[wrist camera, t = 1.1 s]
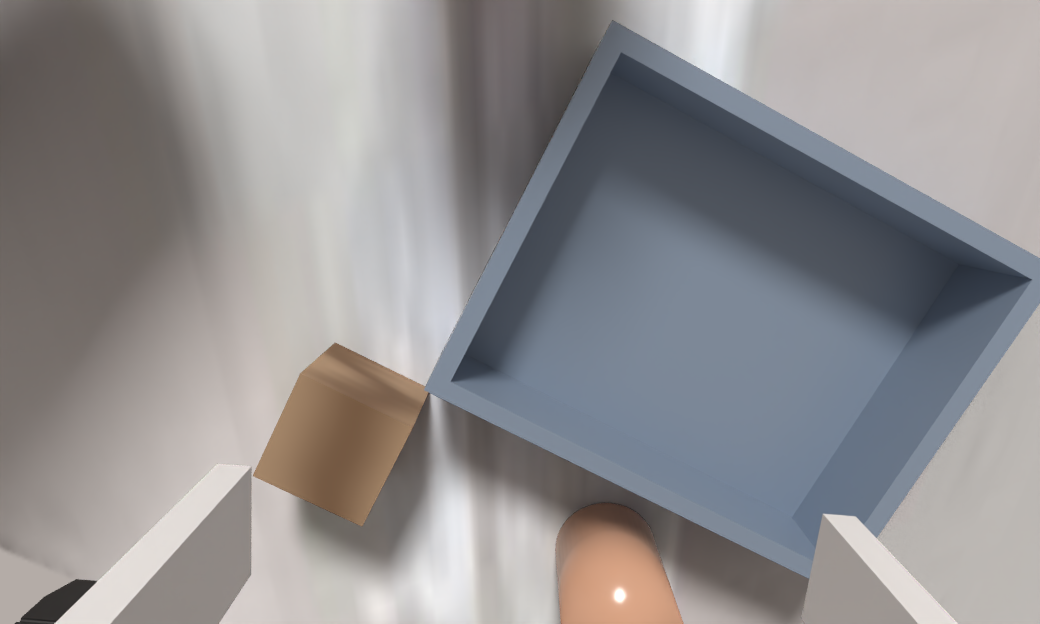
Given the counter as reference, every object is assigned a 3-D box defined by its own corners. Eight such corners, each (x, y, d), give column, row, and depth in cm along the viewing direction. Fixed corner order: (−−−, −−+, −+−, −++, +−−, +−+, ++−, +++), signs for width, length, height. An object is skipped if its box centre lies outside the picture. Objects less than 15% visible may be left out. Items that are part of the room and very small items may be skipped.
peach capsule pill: (538, 567, 34) (540, 667, 27) (585, 486, 33) (600, 569, 26) (624, 607, 34) (648, 716, 27) (672, 529, 33) (710, 621, 26)
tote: (439, 356, 32) (423, 390, 27) (597, 46, 29) (612, 19, 24) (792, 531, 33) (838, 593, 28) (975, 254, 30) (1062, 270, 25)
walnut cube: (294, 430, 32) (252, 475, 28) (335, 342, 32) (300, 373, 27) (386, 474, 33) (362, 526, 28) (430, 388, 32) (412, 427, 27)
